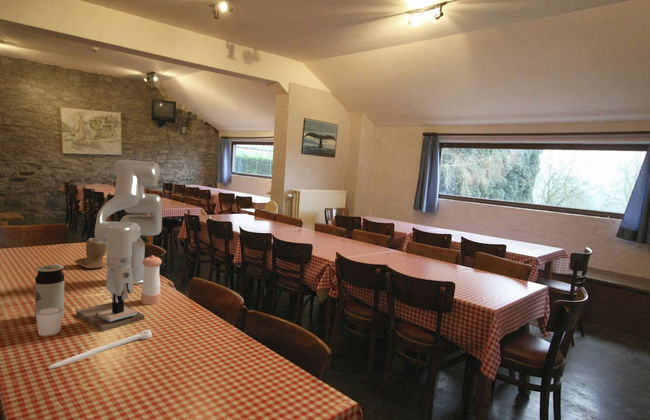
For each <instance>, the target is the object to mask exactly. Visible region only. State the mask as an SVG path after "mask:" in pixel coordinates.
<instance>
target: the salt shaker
mask: <svg viewBox="0 0 650 420" xmlns="http://www.w3.org/2000/svg"><path fill="white" fill-rule="evenodd" d="M162 263H163V261H162V258H160V257H158V256H155V255H150V256H148V257H144V260H143V265H144V280H143V283H142V290H141V291H142V292H141V293H140V303H141V304H142V305H155V304H159V303H160V302H161V300H162V296H161V295H162V292H161V279H160V266H161V264H162Z"/></svg>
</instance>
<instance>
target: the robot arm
mask: <svg viewBox="0 0 650 420" xmlns="http://www.w3.org/2000/svg"><path fill="white" fill-rule="evenodd" d="M160 168H161V167H160V165H159V164H158V163H157V162H154V161H142V160H135V159H133V160H132V159H118V160H116V161H115V162H114V163H113V169H114V172H115V174H116V179H115V180H116V181H115V187H114V196H113V197H111V199H109V200H108V201H107V202H105V203H104V204H103V205H102V206H101V207H100V209H99V210H98V212H97V216H96V222H95V227H94V238H96V239H97V240H98V241H99V242H106V243H107V250H106V264H105V266H106V267H107V268H106V279H105V281H106V282H105V288H106V290H107V291H108V292H109V294H111V301H112V313H114V314H117V313H121V312H123V311H124V305H125V300H127V299H128V298H129V296H128V294H133V292H134V285H139V284H143V280H144V269H145V266H144V265H143V260H144V259H145V253H146V251H145V247H146V245H145V242H144V240H143V239H142V237H141V236H157V235H160V234H161V232H162V229H163V201H162V197H161V196H160V195H158V194H155V193H146V192H145V187H149V188H150V187H156V186H157V185H158V182H159V180H160V176H161V175H160V174H161V169H160ZM123 210H124V212H126V213H127V215H123V216H122V218H121V219H120V221H107V219H108V218H109V217H110V216H111V215H113V214H115V213H116V212H120V211H123Z"/></svg>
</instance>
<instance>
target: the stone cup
mask: <svg viewBox="0 0 650 420" xmlns="http://www.w3.org/2000/svg"><path fill="white" fill-rule="evenodd" d="M85 252H86V257H81V258H78V259H75V260H74V263H75V264H77V265H79V266H81V267H84V268H87V269H100V268H103V267H105V266H106V264H105V263H104V262H103V259H104V256H105V254H106V253H107V243H106V242H99V241H98V240H97V239H96V238H95V237H90V238H88V239H87V240H86V244H85Z"/></svg>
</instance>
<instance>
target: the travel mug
mask: <svg viewBox="0 0 650 420" xmlns="http://www.w3.org/2000/svg"><path fill="white" fill-rule="evenodd" d="M63 269H64V265H61V264H46V265H41V266H38V267H36V271H37V275H36V276H35V278H34V280H35V283H34V284H35V286H34V289H35V290H34V291H35V292H34V293H35V294H34V297H35V299H34V300H35V301H34V305H35V307H34V309H35V310H34V312H35V313H34V314H35V316H34V318H35V319H34V320H35V321H37V317H36V312H37V311H39V310H41V309H45V308H51V307H59V308H62V309H63V313H62V318H63V317H64V316H65V274H64V273H63Z"/></svg>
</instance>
